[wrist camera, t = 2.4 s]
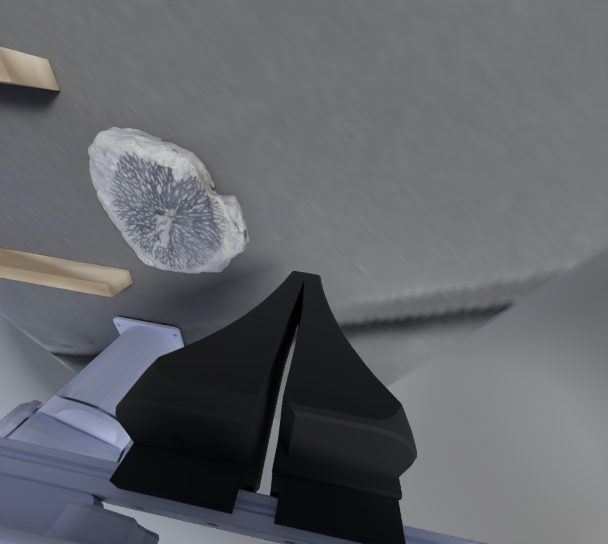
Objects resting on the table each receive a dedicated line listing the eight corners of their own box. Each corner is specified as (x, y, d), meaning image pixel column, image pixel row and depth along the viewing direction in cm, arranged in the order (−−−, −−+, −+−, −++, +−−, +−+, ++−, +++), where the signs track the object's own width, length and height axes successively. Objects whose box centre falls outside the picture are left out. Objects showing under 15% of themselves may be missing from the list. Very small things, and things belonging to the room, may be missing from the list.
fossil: (263, 216, 14) (190, 316, 17) (276, 212, 18) (214, 295, 21) (105, 86, 12) (54, 222, 15) (156, 113, 16) (107, 217, 19)
